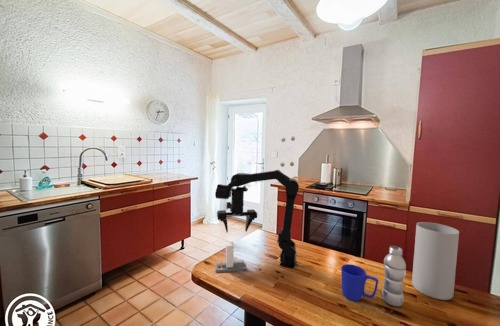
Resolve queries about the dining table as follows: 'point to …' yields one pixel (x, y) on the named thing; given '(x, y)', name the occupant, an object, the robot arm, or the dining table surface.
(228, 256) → the white cardboard box
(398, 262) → the plastic bottle
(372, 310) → the dining table surface
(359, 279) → the mug
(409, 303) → the dining table surface
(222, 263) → the light grey bar
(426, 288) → the cylinder vase
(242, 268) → the board
